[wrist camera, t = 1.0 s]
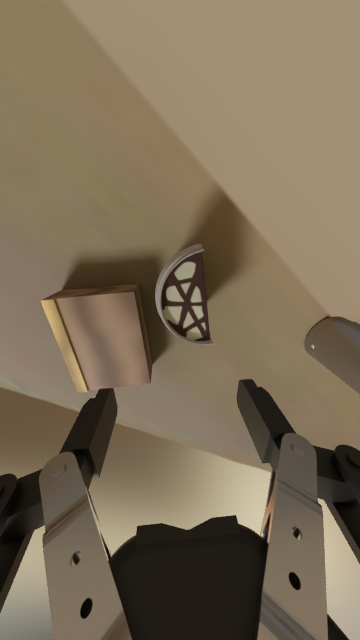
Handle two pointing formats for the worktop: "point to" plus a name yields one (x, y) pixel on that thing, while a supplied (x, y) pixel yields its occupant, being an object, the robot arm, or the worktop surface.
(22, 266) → the worktop surface
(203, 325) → the food container
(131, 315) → the dock
